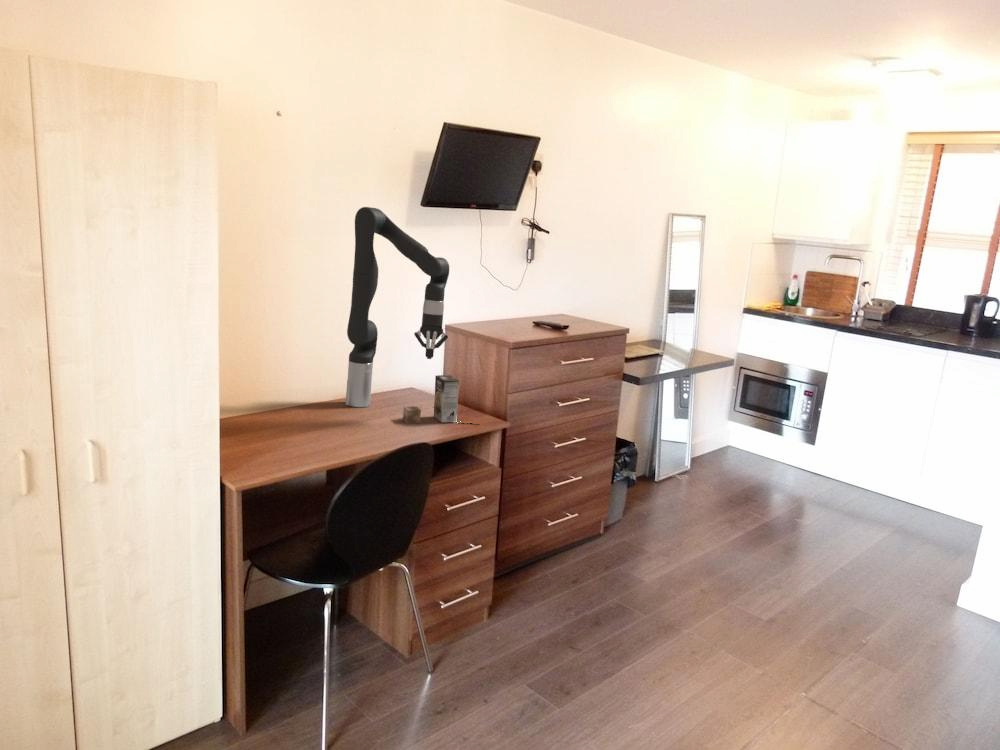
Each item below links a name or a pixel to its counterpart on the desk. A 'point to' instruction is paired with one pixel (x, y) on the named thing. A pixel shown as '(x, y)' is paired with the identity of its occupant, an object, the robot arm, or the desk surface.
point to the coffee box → (446, 398)
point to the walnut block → (411, 414)
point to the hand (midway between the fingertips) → (429, 358)
